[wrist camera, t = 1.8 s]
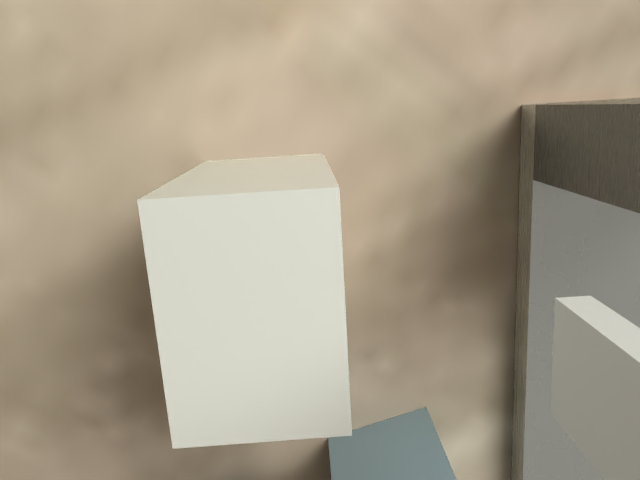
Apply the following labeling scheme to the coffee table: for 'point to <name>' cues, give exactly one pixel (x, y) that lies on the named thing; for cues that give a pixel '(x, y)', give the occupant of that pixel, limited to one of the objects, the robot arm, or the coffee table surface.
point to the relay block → (391, 451)
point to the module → (249, 301)
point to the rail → (570, 255)
